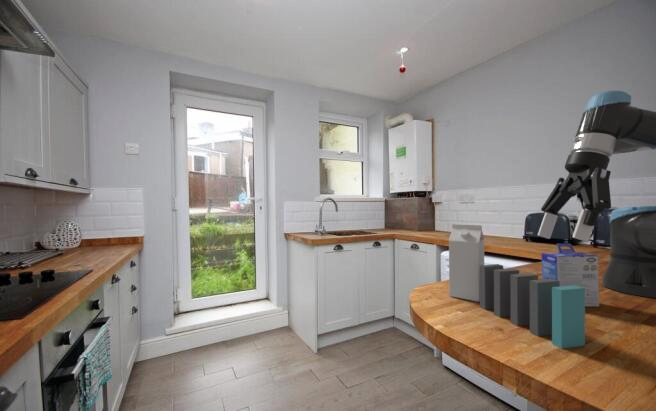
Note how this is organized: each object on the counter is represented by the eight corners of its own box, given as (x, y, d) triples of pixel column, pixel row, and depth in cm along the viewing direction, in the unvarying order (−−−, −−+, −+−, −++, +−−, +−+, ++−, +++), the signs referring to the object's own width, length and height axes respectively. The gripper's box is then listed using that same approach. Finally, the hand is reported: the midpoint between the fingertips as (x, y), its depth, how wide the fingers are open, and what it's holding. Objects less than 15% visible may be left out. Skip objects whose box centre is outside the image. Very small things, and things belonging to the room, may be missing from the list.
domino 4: (529, 332, 52) (529, 280, 52) (551, 329, 53) (551, 278, 53) (537, 336, 50) (537, 282, 50) (559, 333, 51) (559, 281, 51)
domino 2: (494, 314, 60) (493, 269, 60) (513, 312, 61) (512, 268, 61) (499, 317, 59) (499, 271, 59) (519, 315, 60) (519, 270, 60)
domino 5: (552, 343, 48) (551, 287, 48) (574, 340, 49) (574, 285, 49) (561, 348, 46) (561, 290, 46) (584, 345, 47) (584, 288, 47)
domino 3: (510, 322, 56) (510, 274, 56) (530, 320, 57) (530, 273, 57) (517, 326, 55) (517, 276, 54) (538, 323, 56) (537, 275, 55)
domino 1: (479, 307, 65) (479, 265, 65) (497, 305, 66) (497, 264, 65) (485, 309, 63) (484, 266, 63) (503, 307, 64) (503, 265, 64)
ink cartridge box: (579, 299, 69) (579, 242, 69) (601, 307, 64) (600, 246, 64) (540, 299, 69) (540, 242, 69) (558, 307, 64) (558, 246, 64)
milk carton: (456, 289, 77) (455, 223, 77) (484, 295, 73) (484, 224, 73) (449, 296, 72) (448, 225, 72) (479, 302, 67) (478, 226, 67)
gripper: (542, 163, 79) (518, 231, 79) (614, 134, 54) (579, 234, 54) (571, 170, 77) (546, 240, 77) (658, 145, 53) (622, 247, 53)
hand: (559, 238), depth 66 cm, fingers open, 13 cm apart
